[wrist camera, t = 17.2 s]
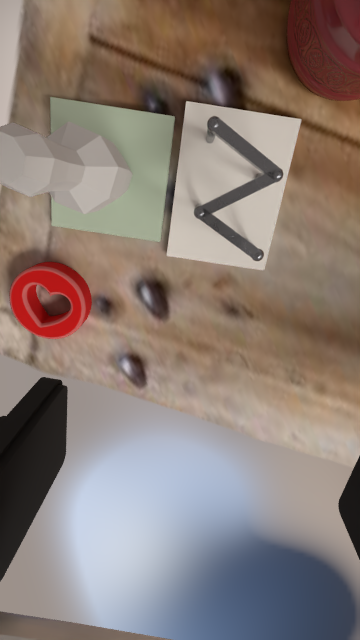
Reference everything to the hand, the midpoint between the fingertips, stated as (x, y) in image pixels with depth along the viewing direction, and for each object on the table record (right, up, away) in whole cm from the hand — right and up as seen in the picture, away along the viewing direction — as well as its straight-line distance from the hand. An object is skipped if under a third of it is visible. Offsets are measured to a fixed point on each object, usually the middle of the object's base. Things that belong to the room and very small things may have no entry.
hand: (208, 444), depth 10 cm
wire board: (+5, +18, +27) cm, 33 cm away
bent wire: (+5, +18, +27) cm, 33 cm away
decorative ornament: (-17, +7, +33) cm, 38 cm away
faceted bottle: (-9, +20, +26) cm, 34 cm away
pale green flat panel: (-9, +20, +27) cm, 35 cm away
